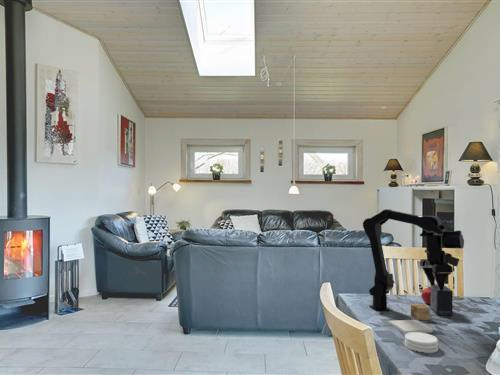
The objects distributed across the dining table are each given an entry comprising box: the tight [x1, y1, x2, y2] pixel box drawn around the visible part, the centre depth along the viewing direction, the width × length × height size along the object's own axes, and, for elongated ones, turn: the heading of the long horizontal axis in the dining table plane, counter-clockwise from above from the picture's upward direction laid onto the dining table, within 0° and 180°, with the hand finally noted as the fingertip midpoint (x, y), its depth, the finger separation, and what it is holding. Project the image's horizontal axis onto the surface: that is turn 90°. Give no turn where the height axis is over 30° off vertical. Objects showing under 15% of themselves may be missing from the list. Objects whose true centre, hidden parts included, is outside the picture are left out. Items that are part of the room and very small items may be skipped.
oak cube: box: [410, 303, 431, 321], centre depth 151 cm, size 5×5×5 cm
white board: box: [388, 319, 434, 335], centre depth 139 cm, size 11×11×1 cm
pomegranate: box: [420, 282, 436, 305], centre depth 172 cm, size 10×10×9 cm
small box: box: [429, 284, 454, 317], centre depth 160 cm, size 11×6×10 cm, turn 168°
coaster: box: [404, 332, 440, 354], centre depth 122 cm, size 10×10×4 cm
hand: (436, 287), depth 148 cm, fingers open, 9 cm apart
